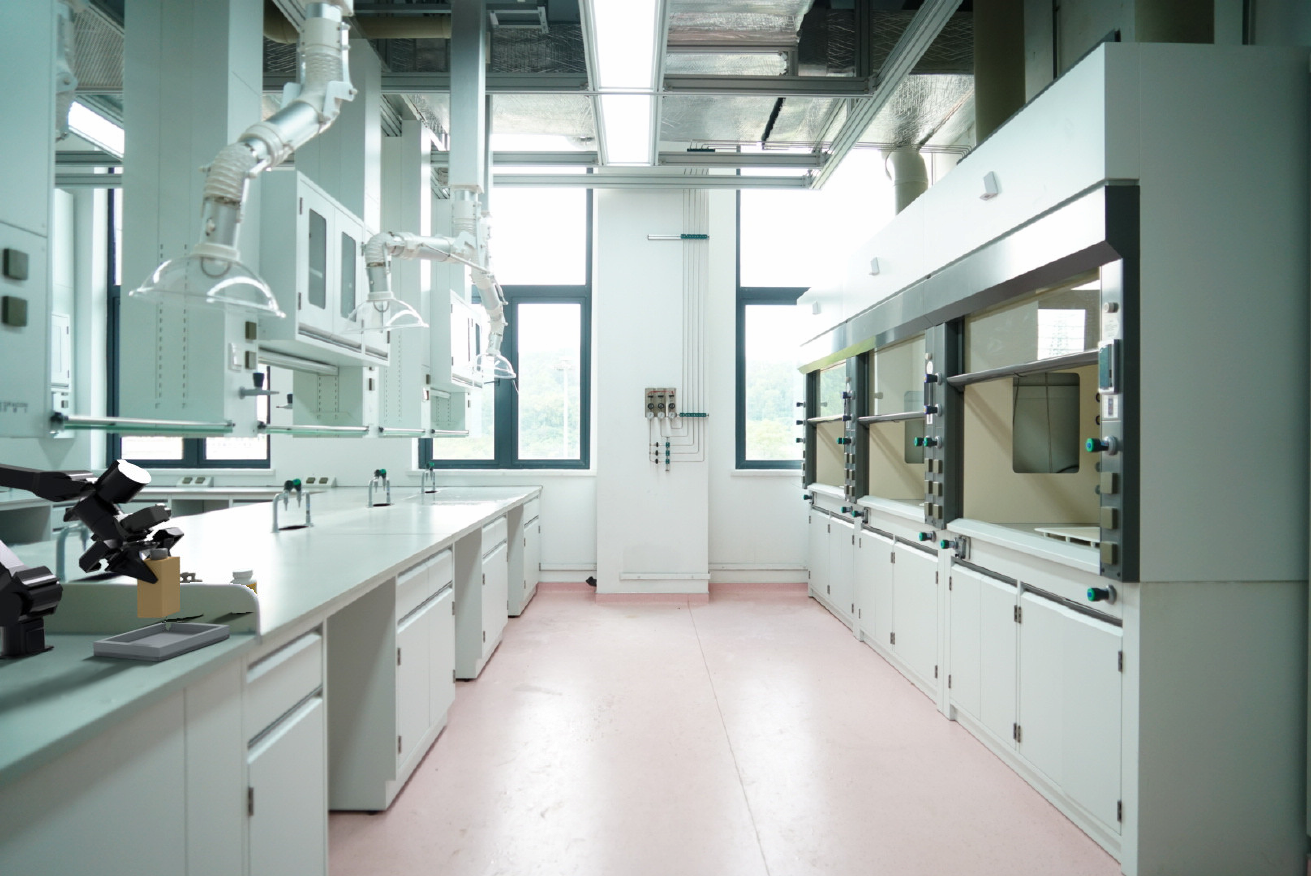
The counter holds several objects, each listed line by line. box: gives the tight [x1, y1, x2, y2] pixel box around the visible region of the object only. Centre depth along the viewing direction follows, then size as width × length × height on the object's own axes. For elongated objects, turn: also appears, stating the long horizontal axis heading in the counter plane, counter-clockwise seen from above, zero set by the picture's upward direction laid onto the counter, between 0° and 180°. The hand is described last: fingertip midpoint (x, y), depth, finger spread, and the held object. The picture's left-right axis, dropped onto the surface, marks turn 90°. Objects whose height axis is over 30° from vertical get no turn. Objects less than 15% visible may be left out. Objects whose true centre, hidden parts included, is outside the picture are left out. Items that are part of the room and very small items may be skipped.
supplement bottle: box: [229, 568, 258, 595], centre depth 149 cm, size 5×5×10 cm
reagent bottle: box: [136, 548, 181, 619], centre depth 122 cm, size 5×5×12 cm
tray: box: [92, 622, 231, 662], centre depth 124 cm, size 16×14×2 cm
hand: (166, 579), depth 122 cm, fingers closed on reagent bottle, 5 cm apart
